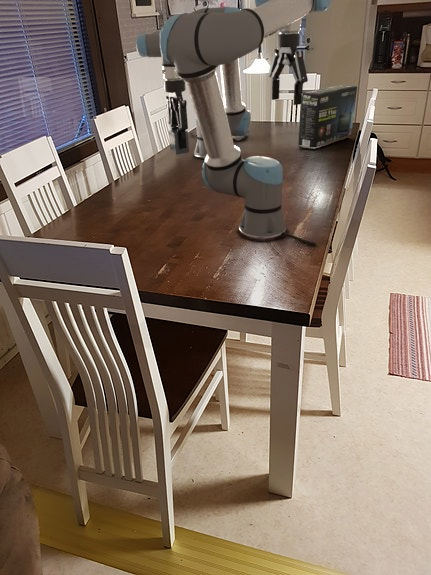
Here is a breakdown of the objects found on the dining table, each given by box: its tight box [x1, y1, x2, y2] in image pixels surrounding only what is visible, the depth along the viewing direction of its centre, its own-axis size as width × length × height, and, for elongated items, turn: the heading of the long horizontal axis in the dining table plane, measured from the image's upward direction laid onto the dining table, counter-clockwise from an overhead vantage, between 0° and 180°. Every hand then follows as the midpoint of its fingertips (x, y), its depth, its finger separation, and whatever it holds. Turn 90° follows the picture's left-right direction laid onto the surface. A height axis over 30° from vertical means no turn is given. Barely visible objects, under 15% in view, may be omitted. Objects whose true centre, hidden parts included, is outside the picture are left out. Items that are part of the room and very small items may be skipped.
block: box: [168, 129, 190, 156], centre depth 171 cm, size 5×5×8 cm
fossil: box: [232, 128, 250, 142], centre depth 261 cm, size 18×11×15 cm
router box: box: [297, 84, 358, 151], centre depth 238 cm, size 36×11×27 cm, turn 134°
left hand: (179, 146), depth 172 cm, fingers closed on block, 5 cm apart
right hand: (286, 102), depth 162 cm, fingers open, 13 cm apart
